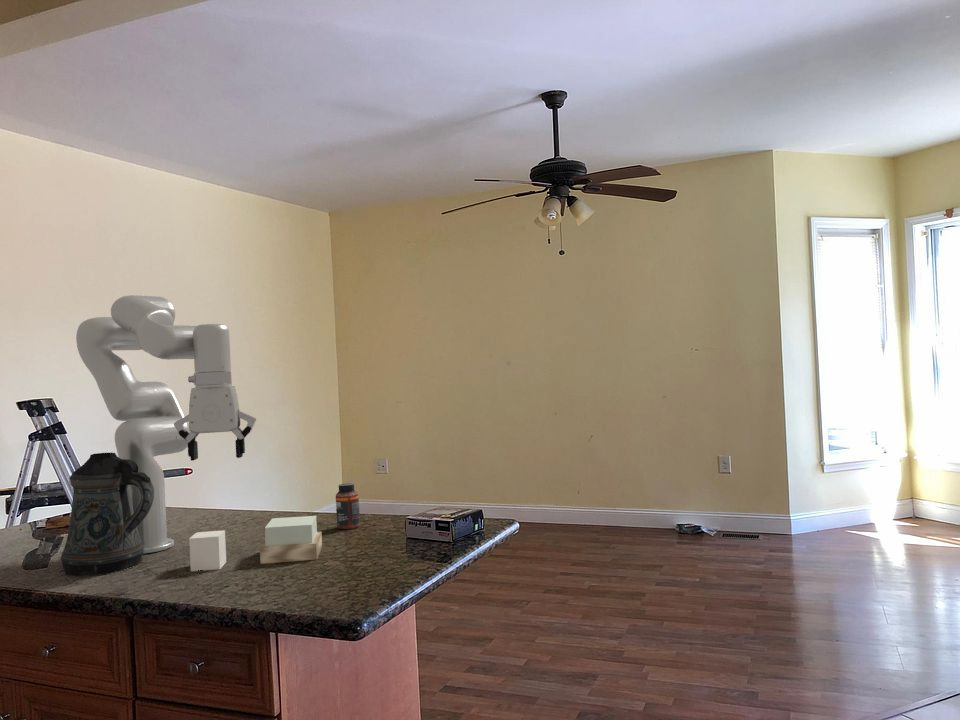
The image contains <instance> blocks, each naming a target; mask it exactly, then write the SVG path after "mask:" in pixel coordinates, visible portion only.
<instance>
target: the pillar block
mask: <svg viewBox="0 0 960 720" xmlns="http://www.w3.org/2000/svg"><path fill="white" fill-rule="evenodd" d="M188 542H189V563H190V564H189V565H190V572H199V571H200V570H203V571H212V570H214V571H215V570H221V569H222V568H223V566H224V565H225V564H226V563H227V548H226V547H227V546H226V530H225V529H224V530H223V529H222V530H211V531H199V532H195V533H194V534H193V535H192V536H190V537H189V539H188ZM198 570H199V571H198Z"/></svg>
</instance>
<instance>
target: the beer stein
mask: <svg viewBox="0 0 960 720" xmlns="http://www.w3.org/2000/svg"><path fill="white" fill-rule="evenodd" d="M69 482H70V485H71V487H72V488H73V489H72V490H73V491H72V492H73V493H72V494H73V495H72V502H71V512H70V520H69V525H68V531H67V537H66V541H65V545H64V548H63V551H62V552H61V554H60V560H61V564H62V569H63V570H62V571H63V572H64V573H65V575H66V576H71V577H72V576H73V577H90V576H91V577H92V576H98V575H99V576H100V574H101V575H107V574H106V573H108V574H112V573H111V572H113V573H116V572H115V571H117V572H121V570H122V571H125V570H127V568H128V569H130V567H131V568H134V567H136V566H138V565H140V564H141V563H142V561H143V557H144V554H143V552H144V545H143V543H142V541H141V539H140V536H139V533H138V530H137V526H138V525H139V524H140V523H141V522H142V521H143V519H144V518H145V517H146V515H147V514H148V512H149V510H150V508H151V506H152V503H153V500H154V487H153V484H152V482H151V480H150V478H149V477H148V476H147V475H146V474H145V473H143V472H138V465H137V464H136V463H135V462H134V461H133V460H127V459H120V458H119V457H118V454H116V452H100V453H99V452H98V453H93V454H90V455H89V458H88V459H87V460H86V461H85V462H84V463H83V464H82V465H81V466H79V467H78V468H77V469H75V471H74V472H72V473H71V475H70V476H69ZM129 485H135V486H136V487H138V488H139V490H140V493H141V501H140V504H139V506H138V508H137V510H136V511H135V512H133V506H132V501H131V496H130V492H129ZM139 563H140V564H139ZM137 564H138V565H137ZM133 566H134V567H133ZM124 569H125V570H124Z"/></svg>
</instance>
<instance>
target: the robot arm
mask: <svg viewBox="0 0 960 720" xmlns="http://www.w3.org/2000/svg"><path fill="white" fill-rule="evenodd" d="M175 319H176V310H175V307H174V305H173V304H172V302H171V301H170V300H169V299H167V298H165V297H162V296H153V295H124V296H121V297H119V298H117V299H116V300H115V301H114V302H113V303H112V305H111V308H110V316H98V317H92V318H87V319H86V320H84V321H82V322H81V323H80V324H79V325H78V327H77V330H76V337H75V339H76V348H77V351H78V354H79V357H80V358H81V361H82V362H83V364H84V365H85V367H86V368H87V369H88V371H89V372H90V374H91V375H92V377H93V379H94V380H95V382H96V384H97V387H98V389H99V391H100V394H101V396H102V399H103V401H104V403H105V405H106V408H107V410H108V412H109V414H110V415H111V417H112V418H113V419H114V420H116V421H121V422H122V423H121V424H120V425H118V426H117V428H116V430H115V432H114V443H115V448H116V452H117V457H119V458H120V459H127V460H133V461H134V462H135V463H136V464H137V465H138V472H143V473H145V474H146V475H147V476H148V477H149V478H150V480H151V482H152V484H153V487H154V500H153V503H152V506H151V508H150V510H149V512H148V514H147V515H146V517H145V518H144V519H143V521H142V522H141V523H140V524H139V525H138V526H137V530H138V533H139V536H140V539H141V541H142V543H143V545H144V552H143V555H144V554H151V553H157V552H160V551H161V552H162V551H164V550H168V549H170V548H173V546H174V545H175V540H174V539H173V538H169V537H168V533H167V532H168V529H167V527H168V526H167V509H166V507H167V505H166V486H165V474H164V470H163V469H162V467H161V466H160V465H159V463H158V461H156V458H155V457H158V456H163V455H170V454H176V453H181V452H183V451H185V450H187V456H188V457H189V458H190V461H195V460H197V459H198V458H199V450H198V447H199V446H198V441H197V440H196V438H197V437H198V436H199V435H200V434H211V433H212V434H213V433H227V432H228V433H229V432H231V433H233V434H234V435H235V437H236V439H235V457H236V458H237V459H240V458H242V457H243V454H245V453H246V447H245V443H246V442H245V438H246V437H247V436H248V435H249V434H251V432H252V430H253V428H254V426H255V424H256V422H257V418H256V417H254V416H253V415H250V414H247V413H245V412H243V411H241V410H240V406H239V400H238V399H239V398H238V394H237V389H236V386H235V385H233V384H232V364H231V363H232V362H231V361H232V359H231V344H230V343H231V342H230V330H229V327H228V326H227V325H225V324H221V323H206V324H203V323H202V324H198V325H182V324H181V325H180V324H179V325H175V324H174V322H175ZM141 350H142V351H143V352H146V353H147V354H149V355H150V356H152V357H155V358H158V359H159V360H160V359H162V360H169V361H170V360H193V363H194V364H193V365H194V368H193V369H194V373H193V375H191V376H188V377H187V381H188V383H192V384H193V385H194V386H195V387H191V389H190V395H189V401H188V402H189V404H188V414H187V415H185V413H184V411H183V409H182V406H181V405H180V403H179V401H178V398H177V396H176V394H175V392H174V391H173V389H172V388H171V387H170V386H169V385H168V384H166V383H165V382H162V381H140V380H138V379H137V378H136V377H135V375H134V372H133V370H132V368H131V366H130V365H129V364H128V363H127V362H126V360H124V359H123V358H121V357H120V356H119V355H117V354H116V353H114V351H141ZM241 419H242V420H244V421H246V423H247V424H246V426H245V428H243V429H241V427H240V426H241ZM129 492H130V496H131V501H132V506H133V512H135V511H136V510H137V508H138V506H139V504H140V501H141V493H140V490H139V488H138V487H136V486H135V485H129Z"/></svg>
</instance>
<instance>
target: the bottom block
mask: <svg viewBox="0 0 960 720" xmlns="http://www.w3.org/2000/svg"><path fill="white" fill-rule="evenodd" d="M322 532H323V531H317V534H316V536H315V538H314V540H313V543H305V544H289V545H274V546H266V545H265V540H264V541H263V543H262V544H261V545H260V547H259V561H260V564H261V565H263V564H276V563H287V562H301V561H312V560H313V561H314V560H315V561H316V560H318V557H319V555H320V552H321V550H322V548H323V537H322V536H323V534H322Z"/></svg>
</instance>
